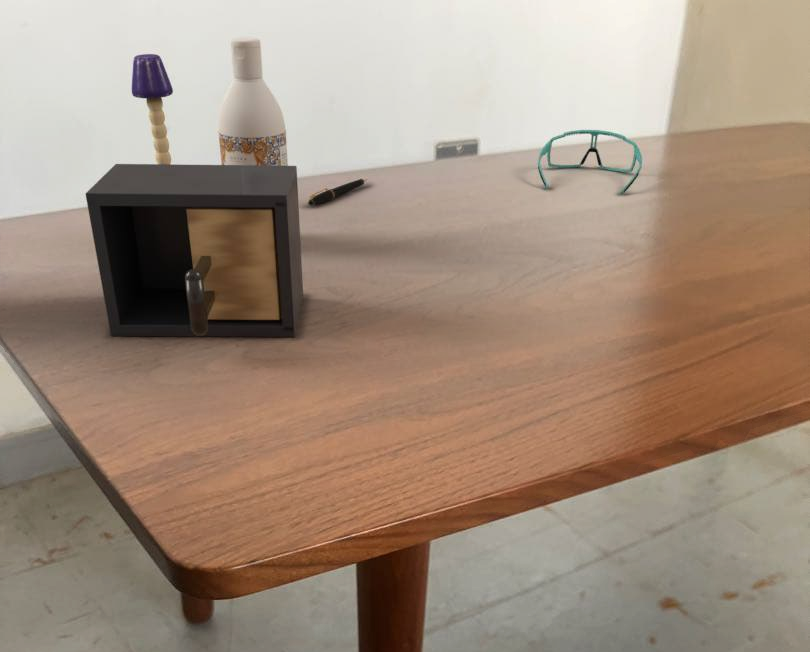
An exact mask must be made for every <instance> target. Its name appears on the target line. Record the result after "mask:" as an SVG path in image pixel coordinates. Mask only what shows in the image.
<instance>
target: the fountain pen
mask: <svg viewBox="0 0 810 652" xmlns="http://www.w3.org/2000/svg"><path fill="white" fill-rule="evenodd" d="M367 180H368V178H363V179H362V178H359V179H357V180H354V181H350V182H347V183H344V184H341V185H339V186H336V187H333V188H330V189H328V187H325V188H322V189H321V190H319V191H316V192H315V193H312V194H311V195H310V196H309V198H308V199H309V200H308V203H307V204H308V205H310V206H317V205H321V204H324V203H327V202H330V201H332V200H334V199H335V198H337V197H339V196H342V195H344V194H347V193H349V192H351V191H353V190H354V189H355V190H356V189H357V188H359V187H361V186H363V185H364V184H365V182H367Z"/></svg>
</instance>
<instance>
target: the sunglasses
mask: <svg viewBox="0 0 810 652" xmlns="http://www.w3.org/2000/svg"><path fill="white" fill-rule="evenodd" d="M574 135H591V139H590V140H591V141H590V145H589V146H590V147H589V149H587V151H586V153H585V154H584V155H583V158H581V160H580V162H579V164H555V163H552V161H551V153H552V152H551V151H552V147H553V146H552V145H553V142H554V141H556V140H559V139H563V138H566V136H567V137H569V136H574ZM599 135H601V136H602V135H603V136H608V137H613V138H616V139H620V140H622V141H624V142H626V143H628V144H630V145H631V146H633V158H632V163H631V166H630V168H625V169H624V168H614V167H607V166H603V163H602V159H601V157H600V154H599V150H598V148H597V144H598V143H597V141H598V136H599ZM590 153H595V156H596V161H597V165H598V167H600V169H602V170H606V171H611V172H612V171H613V172H619V173H631V172H633V171H634V169H635V166H636V162H638V168H637V169H636V172H635V173H634V175H633V176H632V178H630V180H629V182H628V183H627V184H626V185H625V186H624V187H623V188H622V189H621V191H620V194H621V195H623V194H625V193H626V192H627V190H629V188H630V187H631V186H632V185H633V183H634V182H635V181H636V180H637V178H638V176H639V175H640V172H641V169H642V165H643V155H642V153H641V150H640V148H639V147H638V145H637V143H636V142H635V141H632V140H631V139H628V138H627V137H626V136H625V135H622V134H621V133H616V132H613V131H607V130H601V129H579V130H578V129H577V130H570V131H565V132H563V133H562V134H559V135H556V136H554V137H553V136H552V137H551V138H550V139H549V141H548V142H547V141H546V143H545V144H544V146H543V147H542V148H541V150H540V152H539V156H538V160H537V169H538V173H539V176H540V179H541V181H542V183H543V186H544V187H545V189H549V184H548V181H547V179H546V178H545V175H544V172H543V168H542V165H541V160H542V157H543V156H546V161H547V165H548V167H549V168H559V169H560V168H561V169H562V168H565V169H569V168H571V169H572V168H574V169H575V168H580V167H582V166H583V165H584V164H585V162H586V160H587V158H588V156H589V154H590Z"/></svg>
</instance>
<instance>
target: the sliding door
mask: <svg viewBox="0 0 810 652" xmlns="http://www.w3.org/2000/svg"><path fill="white" fill-rule="evenodd" d="M186 212H187V221H188V229H189V237H190V246H191V254H192V262H193V269H190V270H188V271H187V272H186V273H185V285H186V293H187V301H188V309H189V317H190V325H191V330H192V332H193V333H194V334H196V335H199V336H198V337H202V336H201V335H204V334H206V333H207V331H208V319H213V320H280V317H281V316H280V301H279V286H278V271H277V256H276V241H275V226H274V211H273V208H258V207H187V209H186Z"/></svg>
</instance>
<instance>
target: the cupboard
mask: <svg viewBox="0 0 810 652" xmlns="http://www.w3.org/2000/svg"><path fill="white" fill-rule="evenodd" d="M85 198H86V199H85V200H86V204H87V210H88V215H89V221H90V227H91V231H92V233H91V234H92V237H93V244H94V249H95V254H96V255H95V256H96V261H97V267H98V271H99V277H100V282H101V288H102V294H103V300H104V305H105V311H106V316H107V322H108V327H109V333H110V334H109V335H110V336H112V337H228V338H231V337H232V338H233V337H237V338H238V337H242V338H246V337H248V338H249V337H250V338H254V337H255V338H295V337H296V333H297V328H298V323H299V318H300V315H301V308H302V304H303V300H304V283H303V263H302V245H301V227H300V208H299V207H300V206H299V205H300V204H299V187H298V169H297V165H288V166H270V165H222V164H171V163H170V164H158V163H155V164H154V163H115V164H114V165H113V166H112V167H111V168H110V169H109V170H108V171H107V172H106V173H105V174H103V176H102V177H101V178H100V179H99V180H98V181H96V183H95V184H93V186H91V187H90V188H89V190H87V191H86V193H85ZM187 207H258V208H273V211H274V226H275V241H276V256H277V271H278V286H279V301H280V316H281V317H280V320H213V319H208V331H207V333H206V334H204V335H201V336H199V335H196V334H194V333H193V332H192V330H191V325H190V317H189V309H188V301H187V293H186V285H185V273H186V272H187V271H188V270H190V269H193V262H192V254H191V246H190V237H189V229H188V221H187V212H186V209H187Z"/></svg>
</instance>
